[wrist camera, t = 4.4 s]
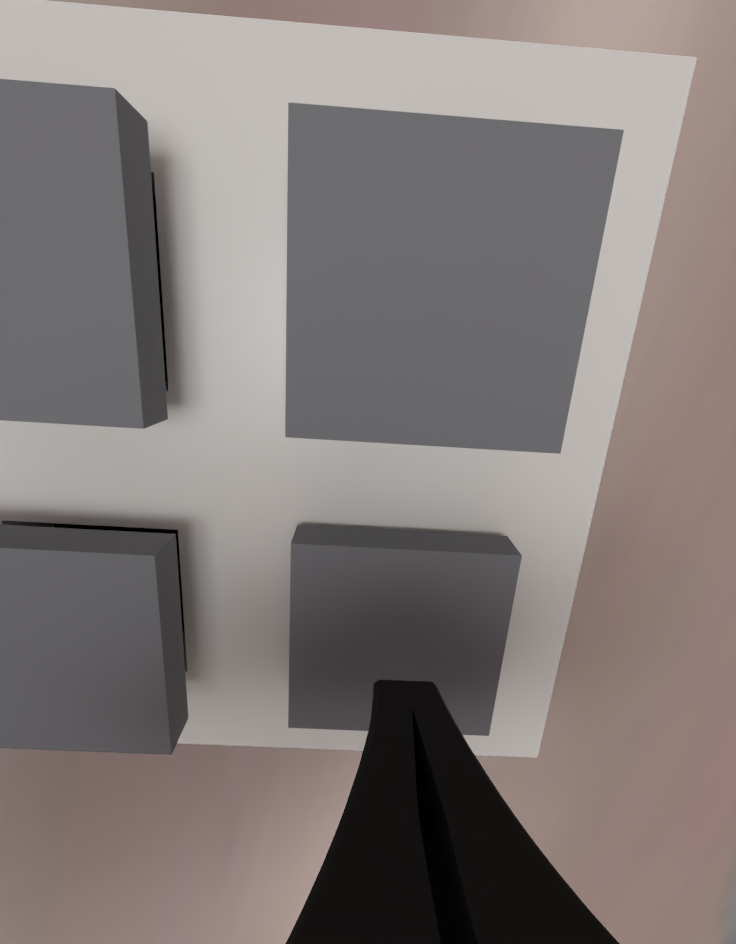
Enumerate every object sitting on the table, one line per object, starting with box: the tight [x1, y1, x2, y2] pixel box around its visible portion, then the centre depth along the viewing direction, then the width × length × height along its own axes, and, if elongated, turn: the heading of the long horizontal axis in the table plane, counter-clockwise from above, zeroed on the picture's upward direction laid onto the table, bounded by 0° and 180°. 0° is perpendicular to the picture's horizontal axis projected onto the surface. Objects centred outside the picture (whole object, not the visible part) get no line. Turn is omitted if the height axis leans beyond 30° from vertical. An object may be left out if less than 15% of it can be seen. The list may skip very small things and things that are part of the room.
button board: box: [0, 0, 697, 757], centre depth 13 cm, size 20×20×2 cm
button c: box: [0, 79, 168, 429], centre depth 10 cm, size 6×6×3 cm
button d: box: [285, 102, 624, 454], centre depth 10 cm, size 6×6×3 cm
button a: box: [0, 525, 188, 755], centre depth 12 cm, size 6×6×3 cm
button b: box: [288, 525, 522, 736], centre depth 14 cm, size 6×6×3 cm
